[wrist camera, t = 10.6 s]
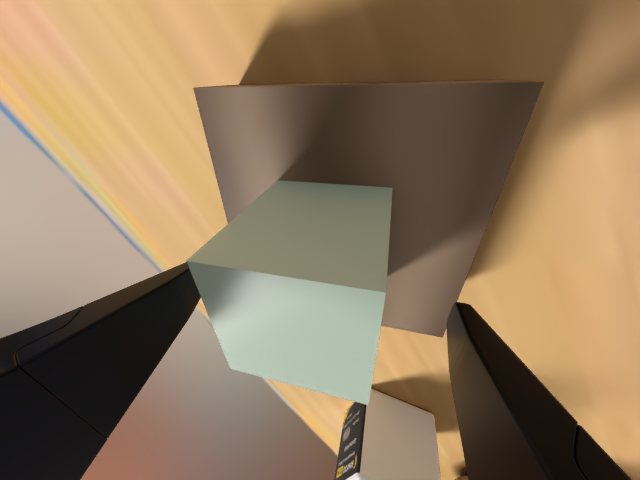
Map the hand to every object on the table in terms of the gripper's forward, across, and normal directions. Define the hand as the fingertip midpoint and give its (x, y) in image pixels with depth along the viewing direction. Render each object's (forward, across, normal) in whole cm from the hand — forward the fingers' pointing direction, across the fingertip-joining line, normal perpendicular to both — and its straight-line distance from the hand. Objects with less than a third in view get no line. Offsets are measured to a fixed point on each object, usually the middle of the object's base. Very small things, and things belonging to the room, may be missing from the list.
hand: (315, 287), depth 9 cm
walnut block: (+8, 0, 0) cm, 8 cm away
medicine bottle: (+8, -5, +24) cm, 26 cm away
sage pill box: (+4, 0, 0) cm, 4 cm away
